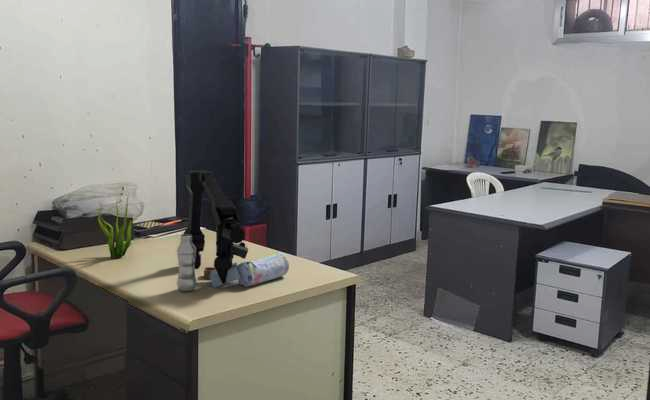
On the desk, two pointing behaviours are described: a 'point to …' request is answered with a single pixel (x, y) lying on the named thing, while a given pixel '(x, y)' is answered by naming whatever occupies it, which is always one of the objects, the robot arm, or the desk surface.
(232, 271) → the cover
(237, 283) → the mat
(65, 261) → the desk surface
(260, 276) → the pencil case
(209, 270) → the tray
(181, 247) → the plastic bottle
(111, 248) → the decorative plant
